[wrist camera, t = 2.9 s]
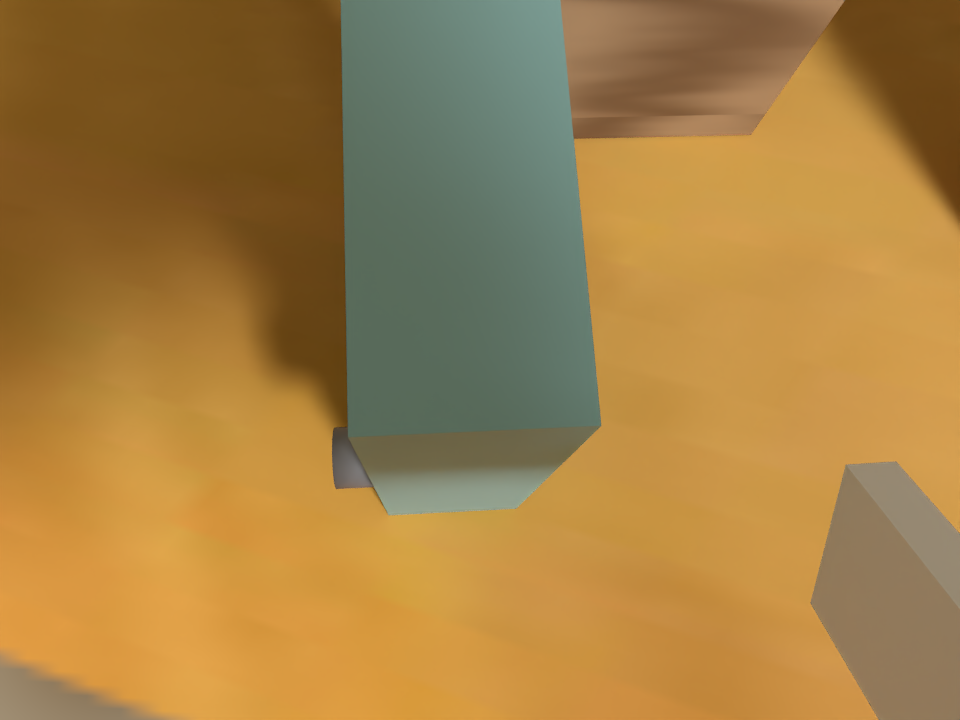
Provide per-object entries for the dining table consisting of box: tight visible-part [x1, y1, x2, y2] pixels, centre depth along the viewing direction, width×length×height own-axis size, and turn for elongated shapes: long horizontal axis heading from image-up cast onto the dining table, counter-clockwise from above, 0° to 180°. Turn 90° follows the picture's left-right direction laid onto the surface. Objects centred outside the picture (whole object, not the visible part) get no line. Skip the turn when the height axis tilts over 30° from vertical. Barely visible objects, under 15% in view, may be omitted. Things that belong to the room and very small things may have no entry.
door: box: [332, 0, 601, 515], centre depth 19 cm, size 4×9×12 cm, turn 3°
